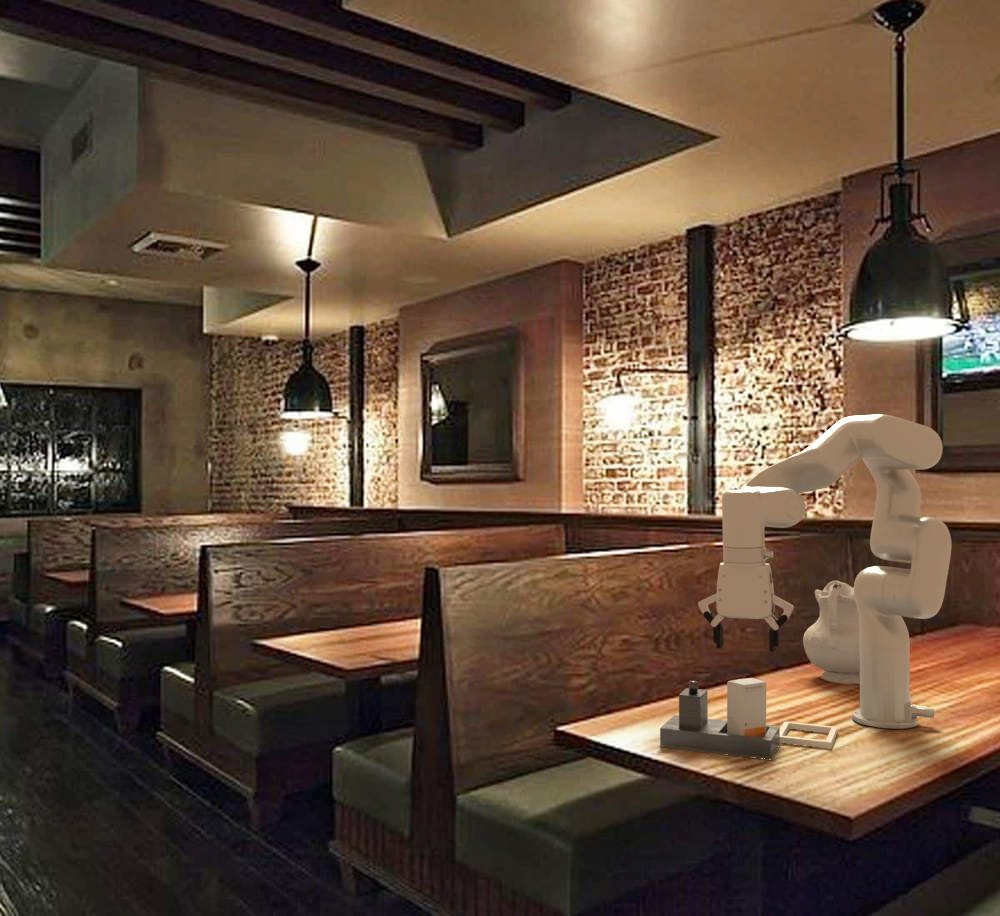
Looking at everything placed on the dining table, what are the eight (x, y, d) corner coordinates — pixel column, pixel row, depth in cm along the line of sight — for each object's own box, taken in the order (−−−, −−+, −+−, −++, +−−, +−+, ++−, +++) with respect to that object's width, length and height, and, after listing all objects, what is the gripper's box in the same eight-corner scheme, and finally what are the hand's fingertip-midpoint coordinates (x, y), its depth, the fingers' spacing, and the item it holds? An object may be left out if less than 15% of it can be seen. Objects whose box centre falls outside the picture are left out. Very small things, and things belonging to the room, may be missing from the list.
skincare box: (742, 751, 173) (742, 685, 174) (726, 745, 177) (726, 680, 177) (767, 746, 176) (767, 681, 177) (751, 741, 180) (750, 677, 180)
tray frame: (837, 732, 188) (837, 726, 188) (831, 749, 177) (831, 742, 177) (784, 727, 192) (784, 721, 192) (775, 742, 181) (775, 736, 181)
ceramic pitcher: (885, 697, 222) (894, 590, 222) (797, 684, 229) (805, 580, 228) (882, 679, 242) (890, 581, 242) (802, 667, 249) (809, 572, 249)
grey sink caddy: (779, 745, 179) (779, 683, 179) (770, 760, 170) (770, 695, 170) (674, 733, 188) (674, 674, 188) (660, 746, 178) (659, 684, 178)
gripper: (795, 555, 177) (797, 648, 177) (702, 553, 184) (703, 642, 184) (789, 559, 170) (791, 655, 170) (692, 557, 178) (694, 649, 178)
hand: (746, 648), depth 177 cm, fingers open, 9 cm apart
